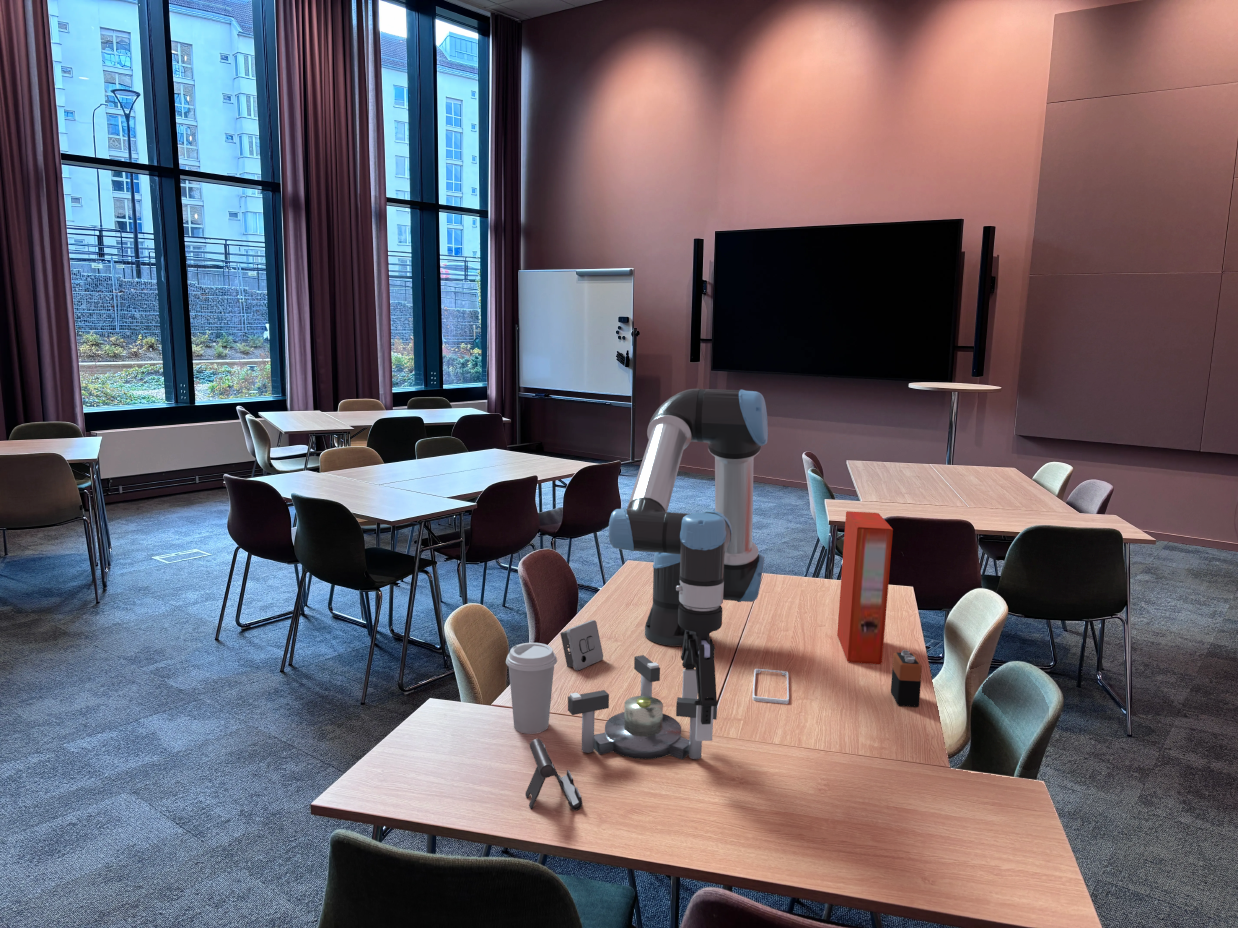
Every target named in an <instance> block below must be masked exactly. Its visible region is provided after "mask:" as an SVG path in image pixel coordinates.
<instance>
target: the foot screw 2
mask: <svg viewBox="0 0 1238 928" xmlns="http://www.w3.org/2000/svg"><path fill="white" fill-rule="evenodd" d="M633 657H634V660H633V661H634V662H633V664H634V665H633V666H634V667H633V668H634V670H635V671H636V672H637V673H638V674H640V696H650V697H653V695H652V694H653V683H655V682H660V681H661V677H660V676H661V667H660V665H659V664H658V663H657V662H653V661H652V660H651V659H649V658H648V657H647V656H645V655H644V654H642V655H636V656H635V655H634V656H633Z"/></svg>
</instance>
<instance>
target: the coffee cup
mask: <svg viewBox="0 0 1238 928" xmlns="http://www.w3.org/2000/svg"><path fill="white" fill-rule="evenodd" d="M556 655H557V654H556V653H555V652H554V651H553V648H552V647H551V646H550V645H548V644H546V643H540V642H525V643H519V644H516V645H514V646H513V647H511V648H510V650H509V653H507V656H506V660H505V664H506V666H508V675H509V686H510V695H511V706H512V707H511V708H512V719H513V727H514V729H515V731H516V732H519V733H521V734H526V735H533V734H534V735H535V734H540V733H543V732H544V731H546V730H547V729H548V728H549V724H550V712H551V705H552V704H551V701H552V691H553V681H554V674H555V673H554V671H555V665H556V664H557V663H558V659H557V656H556Z"/></svg>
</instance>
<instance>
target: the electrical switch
mask: <svg viewBox="0 0 1238 928" xmlns="http://www.w3.org/2000/svg"><path fill="white" fill-rule="evenodd" d="M597 624H598V622H597V621H596V620H595V619H590V620H588V621H586V622H583V623H581V624H578V625H575V626H573V627H570V628H568V629H567V630H563V631H561V632H560V633H559V634H560V638H561V643H562V648H563V653H564V657H565V662H566V667H569V668H570V667H572V668H573V670H575V671H580V670H583V669H585V668H587V667H589V666H591V665H593V664H595V663H598V662H600V661H602V660H603V659H604V653H603V647H602V643H601V638H600V633H599V628H598V627H599V626H598V625H597Z"/></svg>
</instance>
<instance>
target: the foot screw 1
mask: <svg viewBox="0 0 1238 928" xmlns="http://www.w3.org/2000/svg"><path fill="white" fill-rule="evenodd" d="M609 708H610V694H609V693H608V692H607V691H606V690H605V689H603V690H596V691H592V692H586V693H578V692H573V693H572V692H571V693H569V696H567V711H568V712H569V714H571V716H574V715H580V714H581V751H582V752H583V753H587V754H588V753H592V752H594V751H595V749H594V735H595V712H597V711H601V710H602V711H603V710H606V709H609Z"/></svg>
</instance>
